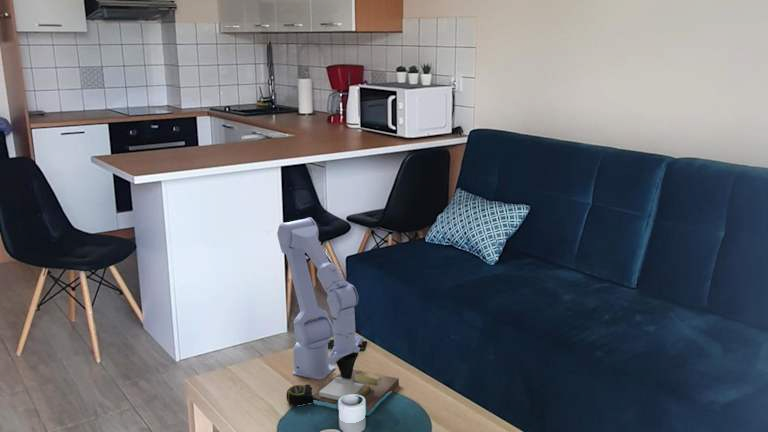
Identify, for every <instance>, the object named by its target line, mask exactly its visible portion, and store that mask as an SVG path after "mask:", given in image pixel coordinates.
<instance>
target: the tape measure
mask: <svg viewBox="0 0 768 432" xmlns="http://www.w3.org/2000/svg"><path fill="white" fill-rule="evenodd" d="M312 391H313V387H311V384H305V385H303V384H296V385H292V386H289V388H288V389H287V391H286V396H285V397H286V401H287V403H288V404H289V405H290V406H292V407H297V405H303V404H308V403H312V402H313V397H314V396H313V392H312ZM312 404H313V403H312Z"/></svg>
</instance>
